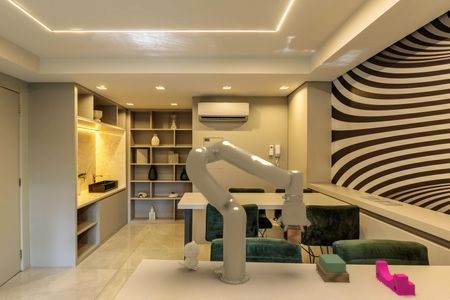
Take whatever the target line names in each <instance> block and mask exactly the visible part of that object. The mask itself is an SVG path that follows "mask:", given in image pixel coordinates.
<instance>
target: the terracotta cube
mask: <svg viewBox="0 0 450 300" xmlns="http://www.w3.org/2000/svg"><path fill="white" fill-rule="evenodd" d="M286 242H287V244H301V242H302V241H301V230H300V227H299V226H288V228H287V241H286Z"/></svg>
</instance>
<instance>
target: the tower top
mask: <svg viewBox="0 0 450 300" xmlns="http://www.w3.org/2000/svg"><path fill="white" fill-rule="evenodd" d="M318 262H319V264H320V265H321V266H322V268H323V269H324V270H325V271H326V273H346V271H347V263H346V262H345V260H344V259H342V258H341V257H340V256H339V255H338V254H332V253H331V254H330V253H329V254H328V253H327V254H326V253H325V254H321V253H320V254H318Z"/></svg>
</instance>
